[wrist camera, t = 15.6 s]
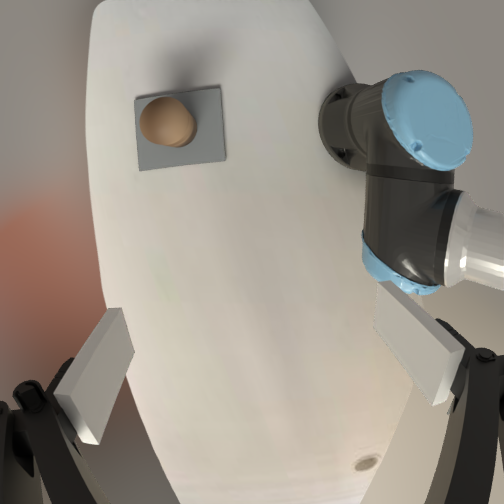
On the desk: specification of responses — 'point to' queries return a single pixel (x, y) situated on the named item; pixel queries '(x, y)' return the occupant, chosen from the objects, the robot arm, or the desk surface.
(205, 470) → the desk surface
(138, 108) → the slate mat
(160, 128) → the walnut canister
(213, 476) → the desk surface
